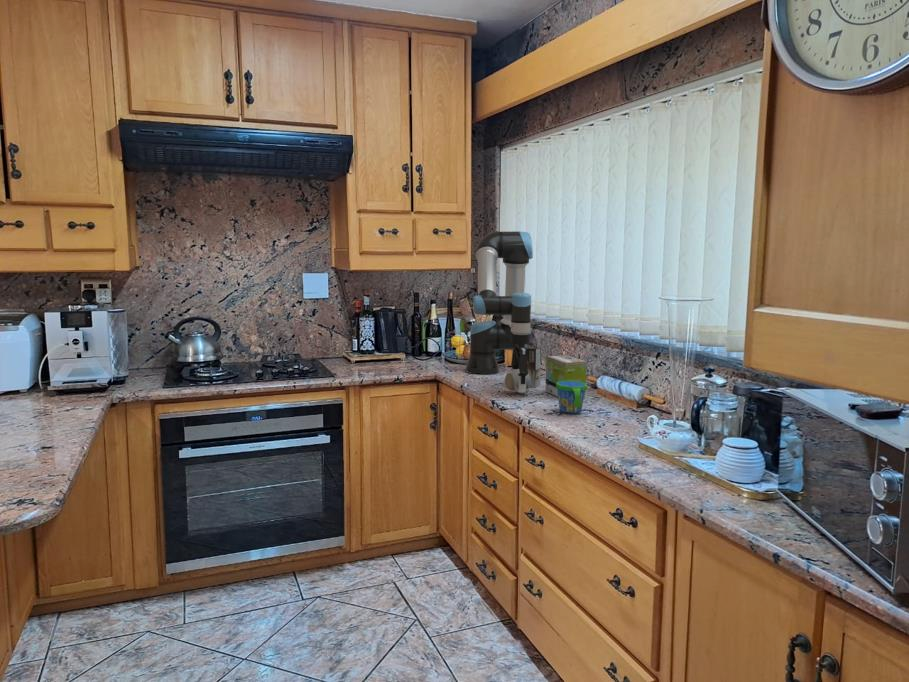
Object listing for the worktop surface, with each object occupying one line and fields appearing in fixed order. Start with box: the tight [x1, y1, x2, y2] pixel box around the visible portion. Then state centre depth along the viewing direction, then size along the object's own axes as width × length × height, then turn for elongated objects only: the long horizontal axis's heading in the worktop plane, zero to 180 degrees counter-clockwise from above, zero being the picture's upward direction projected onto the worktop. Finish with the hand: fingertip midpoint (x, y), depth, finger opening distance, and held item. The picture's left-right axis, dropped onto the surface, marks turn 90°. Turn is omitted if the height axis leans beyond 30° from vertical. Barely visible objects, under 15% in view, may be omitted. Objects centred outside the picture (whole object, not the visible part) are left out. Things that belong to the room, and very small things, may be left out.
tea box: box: [545, 354, 588, 399], centre depth 259 cm, size 15×10×15 cm, turn 20°
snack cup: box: [556, 381, 588, 415], centre depth 232 cm, size 16×10×10 cm
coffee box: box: [525, 346, 542, 388], centre depth 278 cm, size 9×6×16 cm
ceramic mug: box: [504, 371, 531, 394], centre depth 259 cm, size 11×8×8 cm
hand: (518, 388), depth 260 cm, fingers closed on ceramic mug, 11 cm apart
